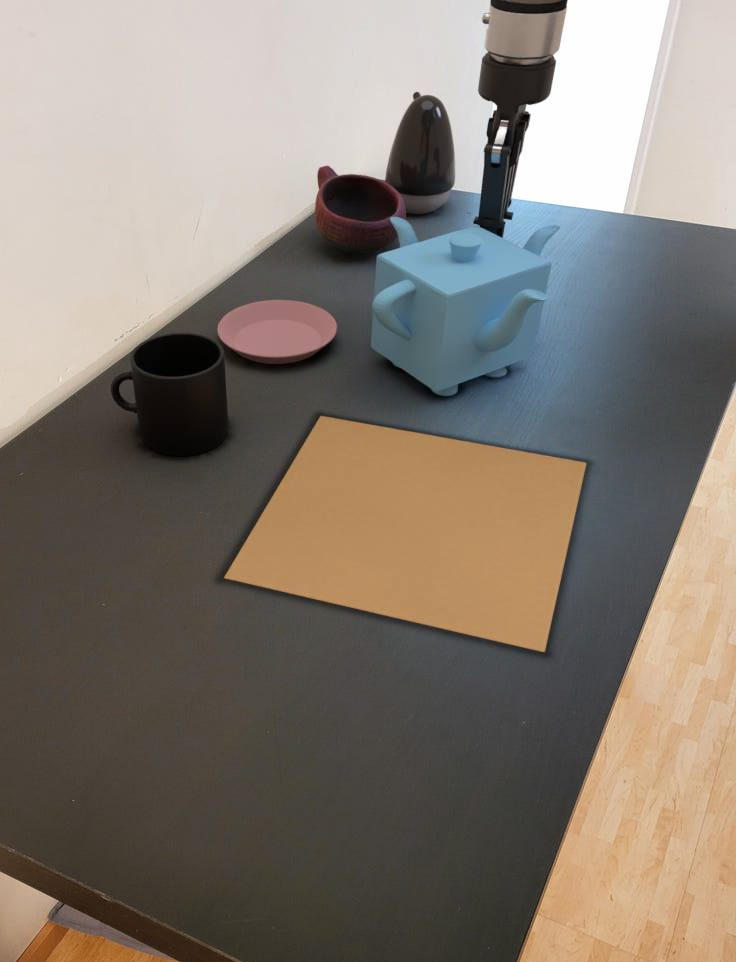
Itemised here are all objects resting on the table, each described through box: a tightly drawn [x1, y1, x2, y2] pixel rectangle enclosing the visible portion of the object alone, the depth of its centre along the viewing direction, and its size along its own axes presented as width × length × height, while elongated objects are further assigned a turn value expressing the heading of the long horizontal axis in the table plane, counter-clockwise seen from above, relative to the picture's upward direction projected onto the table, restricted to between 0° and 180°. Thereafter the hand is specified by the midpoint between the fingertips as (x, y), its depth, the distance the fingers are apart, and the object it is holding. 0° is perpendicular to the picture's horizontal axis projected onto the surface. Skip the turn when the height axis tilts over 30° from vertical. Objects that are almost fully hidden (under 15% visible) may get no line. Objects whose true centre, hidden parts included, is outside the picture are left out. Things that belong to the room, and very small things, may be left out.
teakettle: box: [370, 217, 561, 397], centre depth 103 cm, size 19×19×15 cm
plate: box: [217, 299, 338, 365], centre depth 112 cm, size 14×14×2 cm
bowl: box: [314, 165, 407, 254], centre depth 130 cm, size 16×13×8 cm
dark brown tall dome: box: [384, 91, 456, 215], centre depth 136 cm, size 10×10×15 cm
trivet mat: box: [223, 415, 587, 654], centre depth 88 cm, size 28×28×1 cm
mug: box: [110, 332, 229, 457], centre depth 97 cm, size 9×12×9 cm
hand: (484, 276), depth 113 cm, fingers closed
